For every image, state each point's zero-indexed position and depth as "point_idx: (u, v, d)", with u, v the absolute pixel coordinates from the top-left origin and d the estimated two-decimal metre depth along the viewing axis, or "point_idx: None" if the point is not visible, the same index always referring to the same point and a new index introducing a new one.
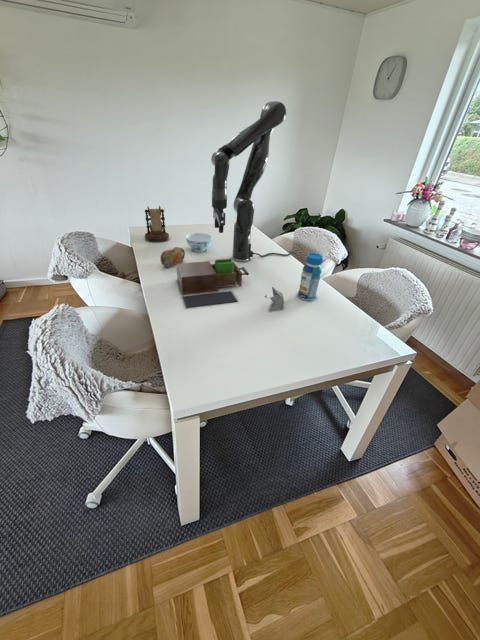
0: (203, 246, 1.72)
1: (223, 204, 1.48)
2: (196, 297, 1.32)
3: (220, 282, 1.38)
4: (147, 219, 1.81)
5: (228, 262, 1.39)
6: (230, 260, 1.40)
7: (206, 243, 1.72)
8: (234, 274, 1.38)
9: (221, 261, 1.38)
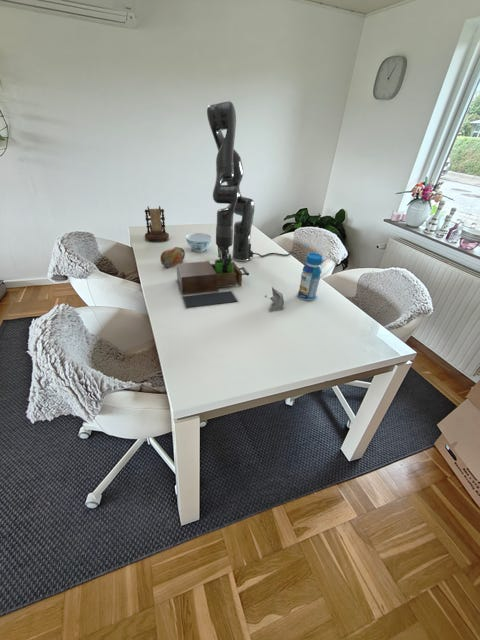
0: (203, 246, 1.72)
1: (229, 242, 1.31)
2: (196, 297, 1.32)
3: (220, 282, 1.38)
4: (147, 219, 1.81)
5: None
6: (230, 260, 1.40)
7: (206, 243, 1.72)
8: (234, 274, 1.38)
9: (221, 261, 1.38)
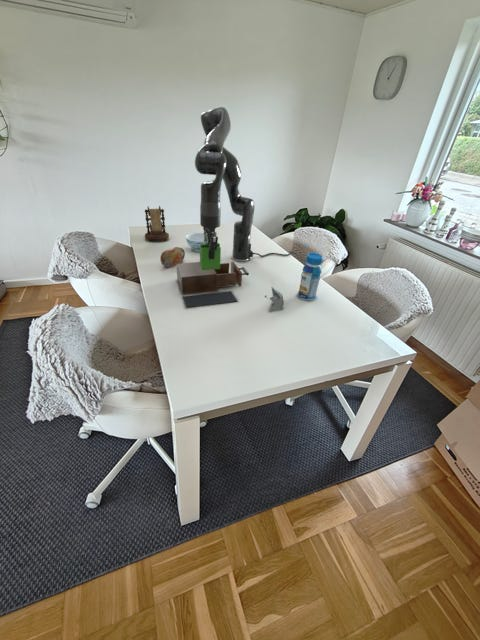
0: None
1: (215, 222, 1.11)
2: (196, 297, 1.32)
3: (220, 282, 1.38)
4: (147, 219, 1.81)
5: None
6: (218, 245, 1.19)
7: None
8: (234, 274, 1.38)
9: (207, 246, 1.18)
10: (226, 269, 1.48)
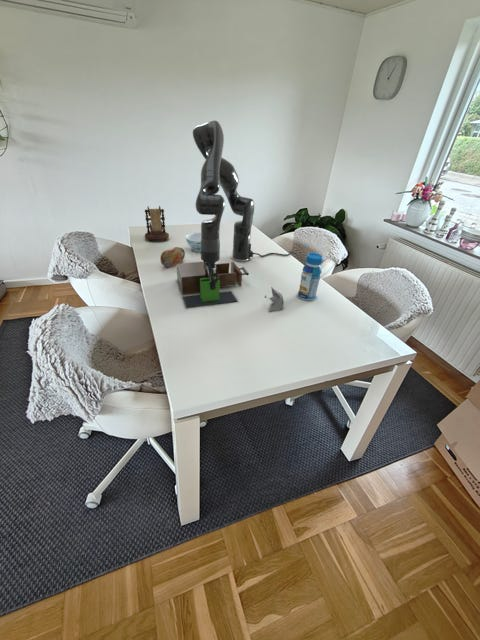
0: None
1: (215, 257, 1.18)
2: (196, 297, 1.32)
3: (220, 282, 1.38)
4: (147, 219, 1.81)
5: None
6: None
7: None
8: (234, 274, 1.38)
9: (207, 280, 1.25)
10: (226, 269, 1.48)
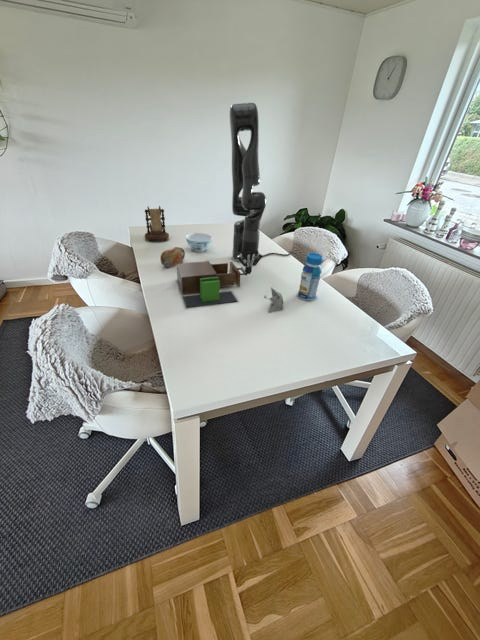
0: (203, 246, 1.72)
1: (244, 245, 1.37)
2: (196, 297, 1.32)
3: None
4: (147, 219, 1.81)
5: (215, 281, 1.26)
6: (217, 278, 1.27)
7: (206, 243, 1.72)
8: (233, 274, 1.38)
9: (207, 280, 1.25)
10: (225, 269, 1.48)
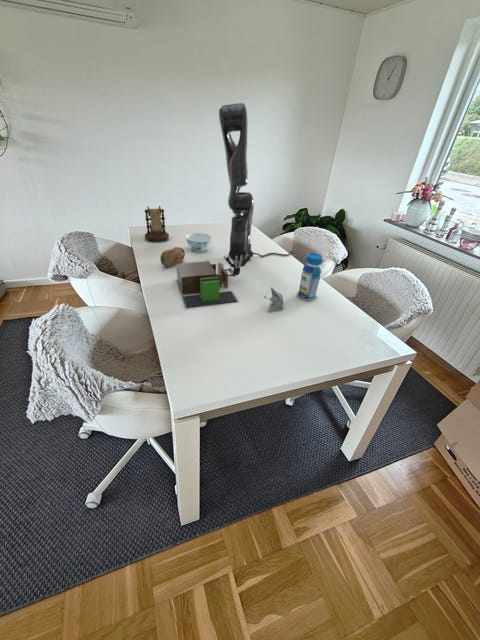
0: (203, 246, 1.72)
1: (231, 246, 1.35)
2: (196, 297, 1.32)
3: None
4: (147, 219, 1.81)
5: (215, 281, 1.26)
6: (217, 278, 1.27)
7: (206, 243, 1.72)
8: (220, 275, 1.36)
9: (207, 280, 1.25)
10: None
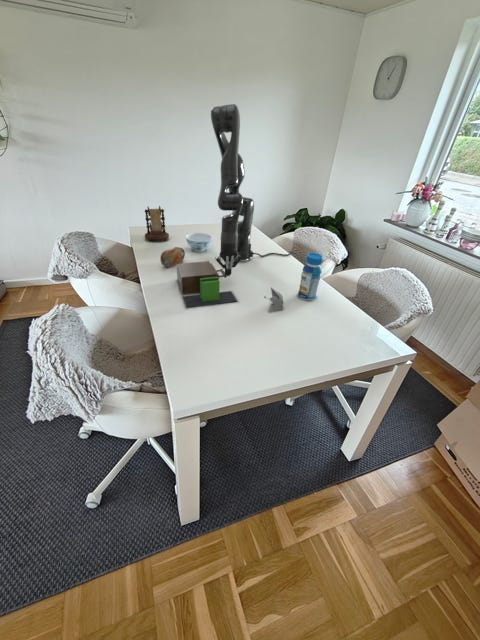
0: (203, 246, 1.72)
1: (222, 246, 1.34)
2: (196, 297, 1.32)
3: None
4: (147, 219, 1.81)
5: (215, 281, 1.26)
6: (217, 278, 1.27)
7: (206, 243, 1.72)
8: None
9: (207, 280, 1.25)
10: None
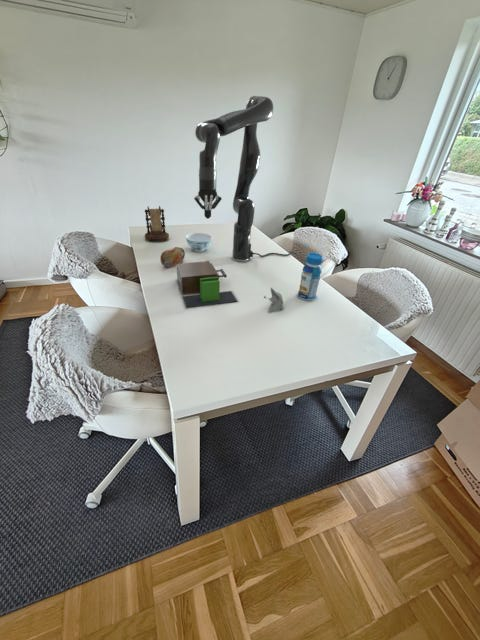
0: (203, 246, 1.72)
1: (200, 184, 1.30)
2: (196, 297, 1.32)
3: None
4: (147, 219, 1.81)
5: (215, 281, 1.26)
6: (217, 278, 1.27)
7: (206, 243, 1.72)
8: None
9: (207, 280, 1.25)
10: None
